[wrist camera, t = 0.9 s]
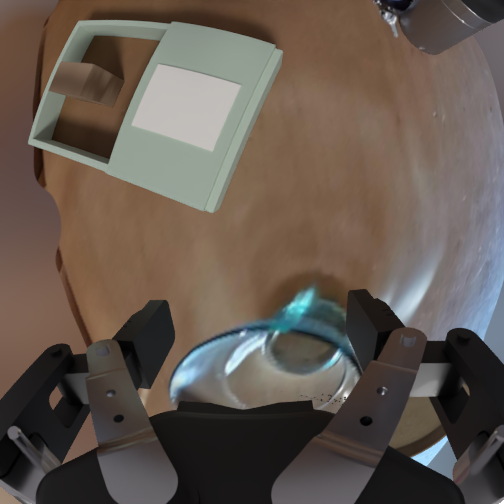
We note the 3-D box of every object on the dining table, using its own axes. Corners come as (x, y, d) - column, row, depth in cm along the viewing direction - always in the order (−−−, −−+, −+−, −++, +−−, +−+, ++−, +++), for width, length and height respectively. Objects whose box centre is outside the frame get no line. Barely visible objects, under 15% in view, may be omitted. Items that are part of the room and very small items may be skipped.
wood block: (93, 75, 32) (60, 61, 23) (124, 80, 33) (93, 63, 24) (82, 100, 33) (48, 90, 25) (113, 107, 34) (79, 95, 25)
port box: (93, 30, 29) (74, 18, 23) (281, 65, 31) (283, 47, 25) (46, 144, 35) (23, 143, 29) (219, 208, 37) (210, 214, 31)
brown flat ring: (340, 463, 53) (342, 476, 49) (360, 386, 45) (366, 402, 41) (439, 436, 51) (445, 446, 47) (478, 354, 43) (488, 365, 38)
